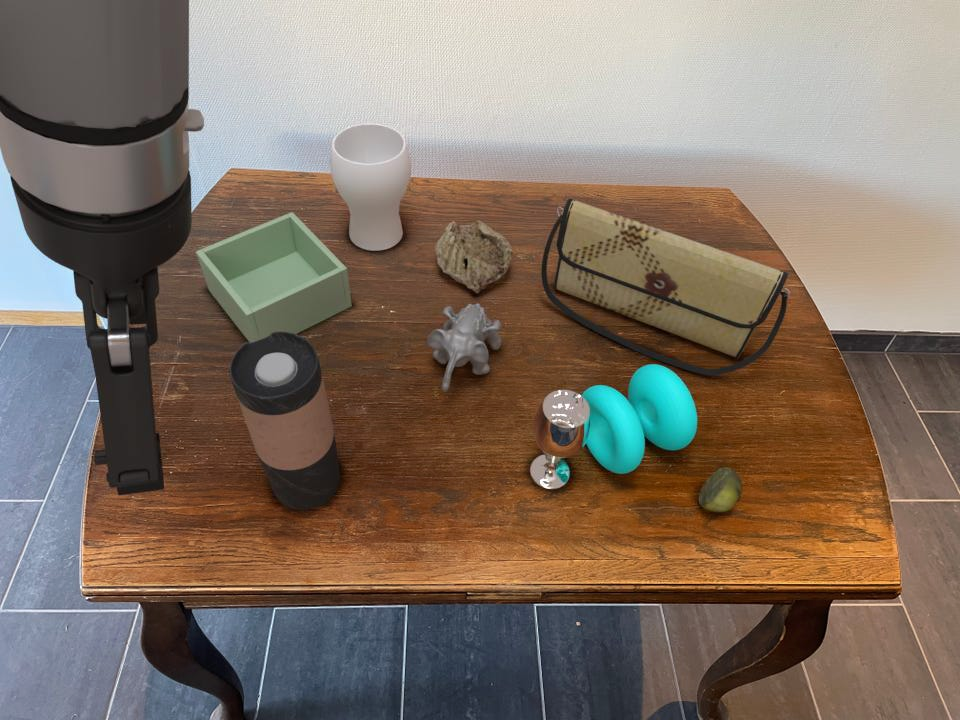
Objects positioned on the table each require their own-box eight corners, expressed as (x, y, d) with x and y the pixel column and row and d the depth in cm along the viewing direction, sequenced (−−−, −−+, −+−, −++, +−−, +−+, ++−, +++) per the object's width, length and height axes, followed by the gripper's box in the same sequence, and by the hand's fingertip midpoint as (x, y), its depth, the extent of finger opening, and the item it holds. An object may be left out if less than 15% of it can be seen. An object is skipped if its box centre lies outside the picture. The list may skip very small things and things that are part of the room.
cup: (336, 257, 97) (323, 166, 85) (342, 210, 104) (331, 119, 92) (412, 258, 98) (409, 168, 86) (413, 211, 104) (411, 121, 93)
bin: (257, 353, 85) (246, 315, 80) (208, 290, 92) (195, 251, 86) (351, 306, 91) (347, 268, 86) (299, 250, 97) (292, 211, 92)
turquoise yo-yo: (687, 460, 79) (714, 409, 71) (614, 494, 75) (635, 444, 68) (636, 396, 84) (657, 343, 76) (566, 425, 81) (581, 372, 73)
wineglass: (560, 442, 79) (577, 378, 70) (585, 483, 76) (606, 421, 67) (515, 459, 77) (526, 395, 68) (539, 502, 74) (554, 440, 65)
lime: (700, 521, 74) (715, 499, 70) (687, 481, 77) (700, 458, 73) (739, 518, 74) (756, 496, 70) (725, 479, 77) (740, 455, 73)
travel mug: (327, 520, 71) (298, 408, 56) (258, 503, 72) (211, 387, 57) (352, 459, 76) (332, 340, 61) (287, 443, 77) (251, 322, 62)
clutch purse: (527, 309, 93) (541, 220, 81) (547, 277, 97) (563, 189, 85) (746, 395, 85) (795, 311, 74) (758, 357, 89) (806, 272, 78)
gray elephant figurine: (499, 333, 90) (504, 290, 84) (504, 408, 82) (509, 368, 76) (428, 331, 89) (428, 289, 83) (425, 407, 81) (425, 366, 75)
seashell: (463, 314, 95) (528, 281, 94) (444, 288, 89) (514, 253, 88) (439, 255, 101) (500, 224, 100) (420, 227, 95) (485, 193, 94)
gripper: (217, 385, 28) (211, 560, 44) (172, 17, 40) (180, 262, 56) (-8, 403, 25) (75, 584, 41) (17, -3, 36) (74, 263, 53)
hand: (136, 398), depth 48 cm, fingers open, 13 cm apart
